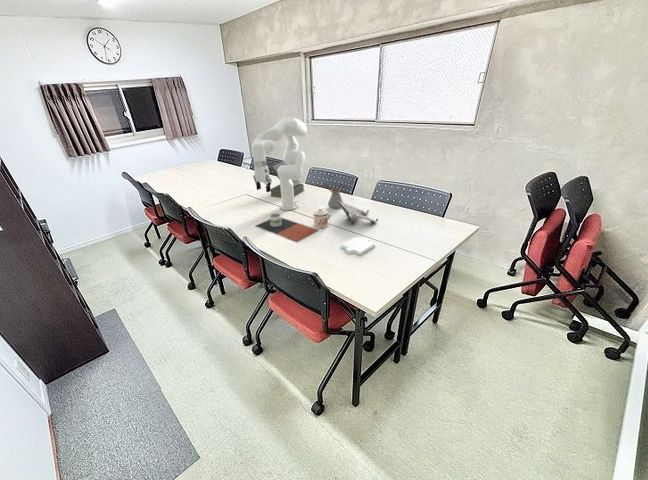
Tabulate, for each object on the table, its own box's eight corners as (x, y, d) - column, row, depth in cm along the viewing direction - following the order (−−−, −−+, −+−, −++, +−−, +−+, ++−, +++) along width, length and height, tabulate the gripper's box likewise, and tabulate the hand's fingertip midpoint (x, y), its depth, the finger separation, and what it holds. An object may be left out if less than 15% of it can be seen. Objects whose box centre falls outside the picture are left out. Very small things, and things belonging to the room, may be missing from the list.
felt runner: (276, 216, 205) (276, 216, 204) (318, 230, 181) (318, 230, 180) (255, 226, 193) (255, 225, 193) (296, 241, 169) (296, 241, 169)
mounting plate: (357, 257, 149) (357, 254, 148) (338, 249, 158) (338, 246, 157) (377, 244, 159) (377, 241, 158) (358, 238, 168) (358, 235, 167)
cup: (276, 221, 197) (275, 212, 194) (284, 223, 192) (283, 214, 189) (267, 224, 193) (266, 215, 189) (275, 227, 188) (274, 218, 184)
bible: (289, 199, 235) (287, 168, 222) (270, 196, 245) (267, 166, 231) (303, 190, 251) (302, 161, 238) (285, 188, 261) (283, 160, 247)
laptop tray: (373, 233, 184) (380, 221, 180) (343, 223, 177) (350, 209, 173) (360, 220, 203) (366, 208, 199) (333, 210, 196) (338, 197, 192)
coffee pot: (346, 207, 210) (347, 187, 202) (334, 211, 206) (334, 191, 198) (329, 200, 226) (329, 181, 218) (317, 203, 222) (317, 184, 214)
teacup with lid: (319, 229, 181) (318, 212, 175) (311, 225, 188) (310, 208, 182) (334, 224, 186) (334, 207, 180) (325, 220, 193) (325, 204, 187)
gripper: (274, 163, 173) (276, 191, 183) (256, 160, 184) (259, 186, 193) (264, 166, 169) (268, 194, 178) (247, 163, 180) (251, 189, 189)
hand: (263, 190), depth 186 cm, fingers open, 9 cm apart
